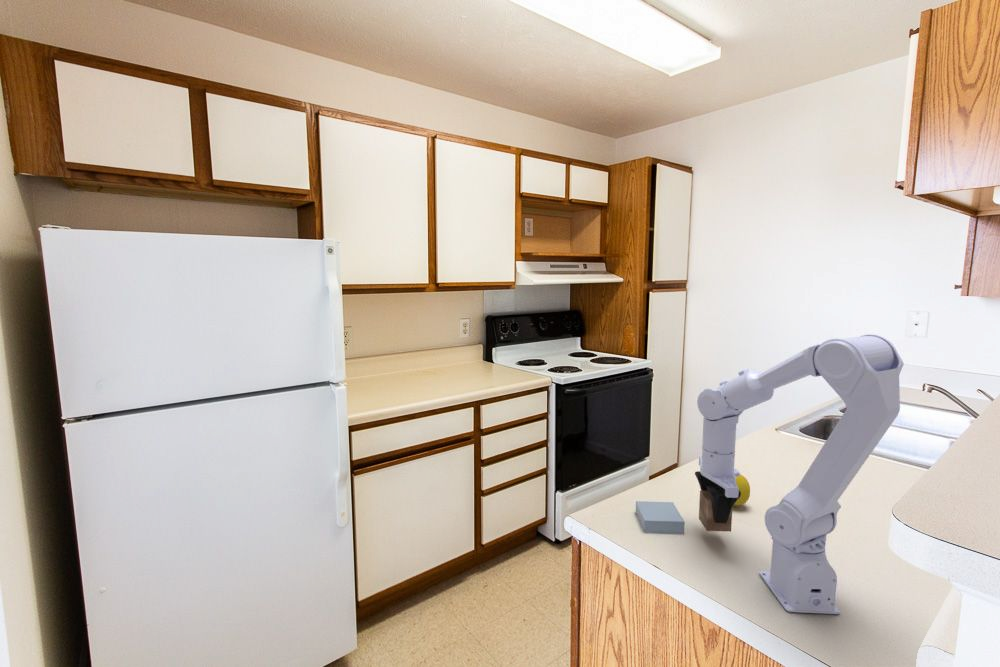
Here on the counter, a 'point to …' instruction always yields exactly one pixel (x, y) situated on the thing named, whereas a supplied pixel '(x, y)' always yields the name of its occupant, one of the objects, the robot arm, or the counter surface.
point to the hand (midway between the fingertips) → (715, 515)
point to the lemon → (742, 490)
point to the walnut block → (711, 515)
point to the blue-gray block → (659, 517)
